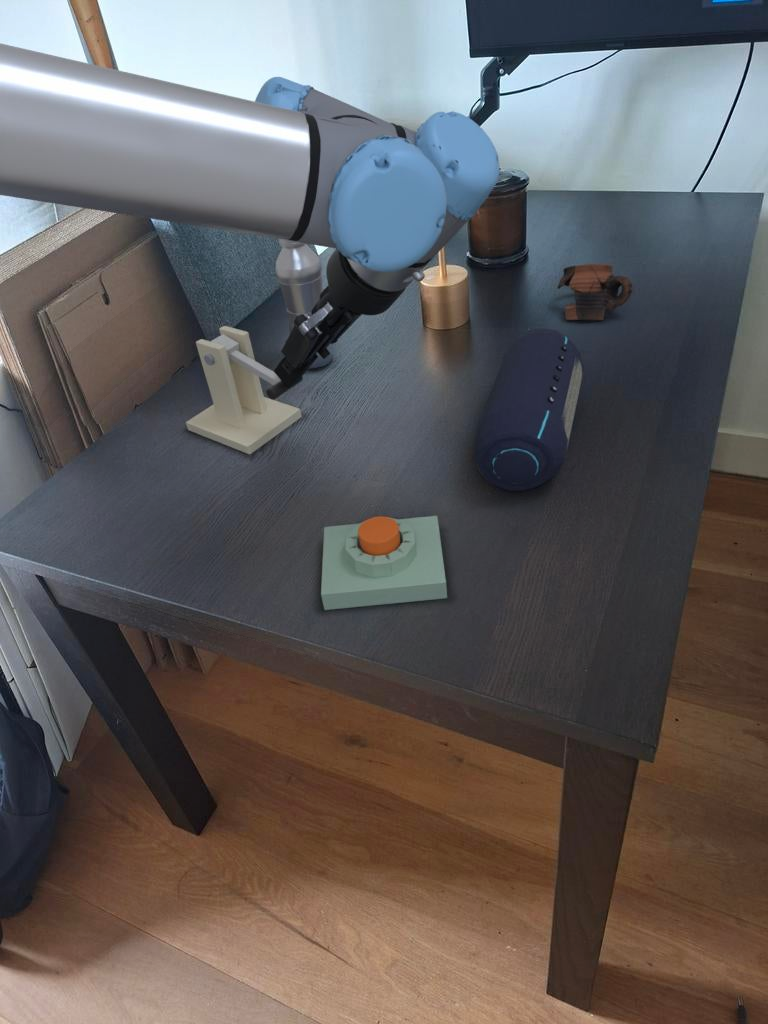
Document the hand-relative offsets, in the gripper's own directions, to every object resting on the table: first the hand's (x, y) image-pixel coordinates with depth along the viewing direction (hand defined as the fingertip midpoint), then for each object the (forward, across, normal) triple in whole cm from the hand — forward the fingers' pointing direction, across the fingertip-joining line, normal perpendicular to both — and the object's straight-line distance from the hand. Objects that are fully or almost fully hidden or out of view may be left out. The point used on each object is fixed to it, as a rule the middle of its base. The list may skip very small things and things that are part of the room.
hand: (284, 376), depth 91 cm
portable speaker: (-11, +14, -25) cm, 31 cm away
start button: (-12, -13, -21) cm, 28 cm away
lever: (+5, 0, +3) cm, 6 cm away
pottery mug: (-4, +50, -19) cm, 53 cm away
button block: (-10, -13, -24) cm, 29 cm away
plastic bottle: (+16, +17, +2) cm, 23 cm away
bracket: (+14, 0, 0) cm, 14 cm away
